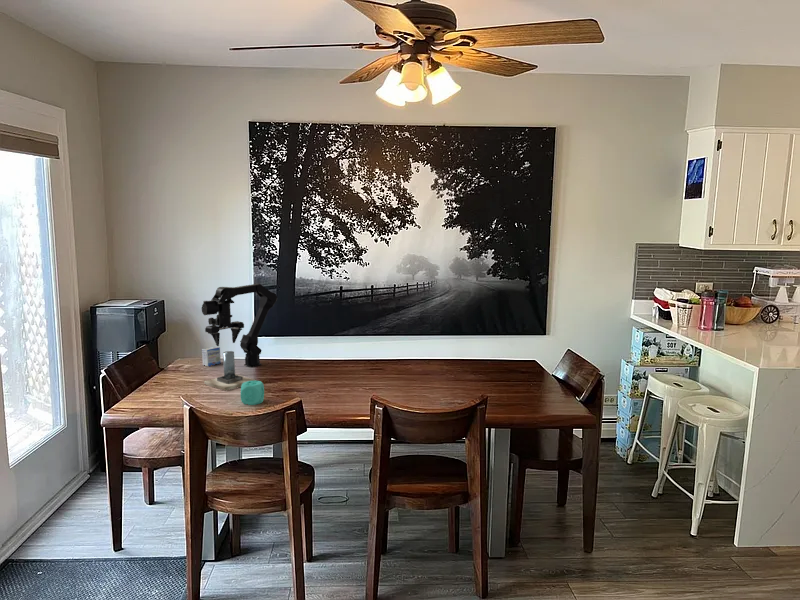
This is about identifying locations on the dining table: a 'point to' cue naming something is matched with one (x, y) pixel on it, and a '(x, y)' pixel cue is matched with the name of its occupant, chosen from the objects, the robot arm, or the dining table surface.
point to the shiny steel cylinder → (229, 365)
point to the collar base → (228, 382)
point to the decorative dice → (252, 392)
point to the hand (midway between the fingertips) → (225, 344)
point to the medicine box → (211, 356)
